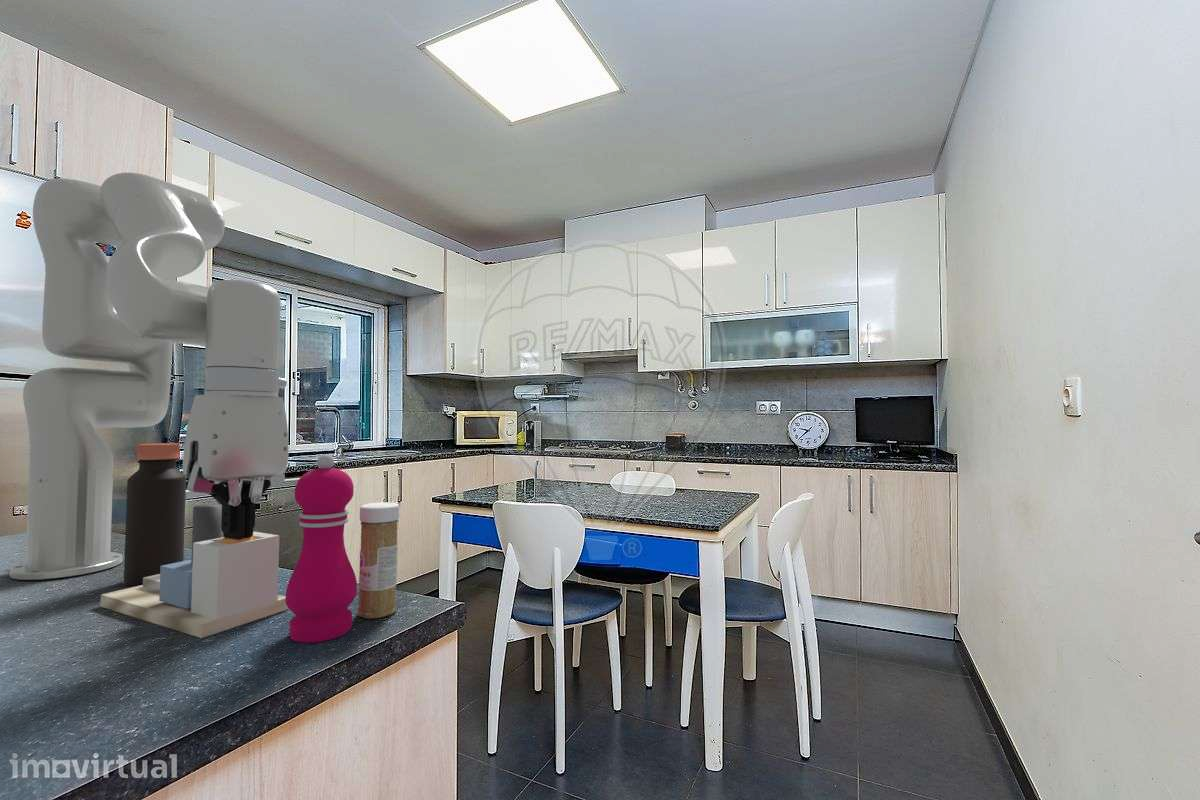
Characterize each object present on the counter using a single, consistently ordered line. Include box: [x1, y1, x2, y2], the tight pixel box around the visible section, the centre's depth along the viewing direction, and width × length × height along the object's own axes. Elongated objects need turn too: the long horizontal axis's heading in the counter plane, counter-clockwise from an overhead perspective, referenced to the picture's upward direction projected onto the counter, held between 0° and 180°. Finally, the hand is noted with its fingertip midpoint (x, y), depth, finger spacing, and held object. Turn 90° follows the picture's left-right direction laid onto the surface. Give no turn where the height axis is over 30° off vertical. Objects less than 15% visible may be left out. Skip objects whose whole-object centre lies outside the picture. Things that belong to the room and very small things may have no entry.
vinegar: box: [123, 442, 187, 587], centre depth 80 cm, size 7×7×20 cm
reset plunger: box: [222, 536, 253, 544], centre depth 65 cm, size 3×3×4 cm
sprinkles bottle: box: [356, 501, 400, 620], centre depth 67 cm, size 5×5×13 cm
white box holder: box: [191, 531, 280, 620], centre depth 65 cm, size 5×7×8 cm
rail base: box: [100, 574, 290, 639], centre depth 68 cm, size 22×10×3 cm, turn 64°
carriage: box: [159, 503, 223, 609], centre depth 67 cm, size 6×7×11 cm
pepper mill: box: [285, 453, 358, 644], centre depth 61 cm, size 7×7×20 cm
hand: (238, 536), depth 65 cm, fingers closed
